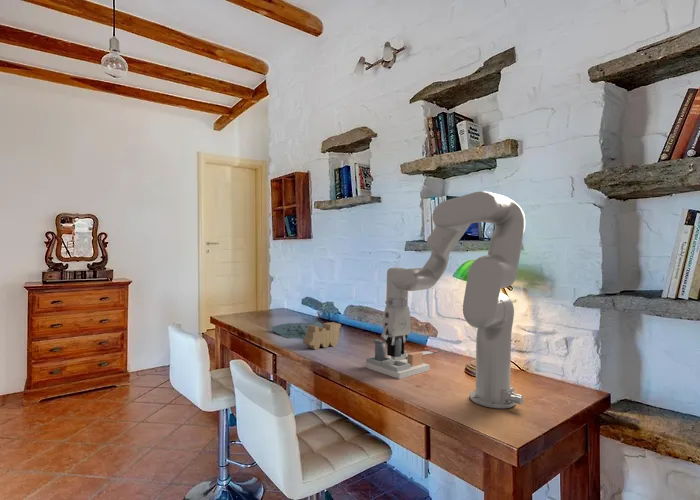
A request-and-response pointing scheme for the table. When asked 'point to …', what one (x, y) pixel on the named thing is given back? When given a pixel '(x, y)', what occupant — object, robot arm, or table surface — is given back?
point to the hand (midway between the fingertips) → (395, 354)
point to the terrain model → (294, 329)
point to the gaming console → (426, 351)
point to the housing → (393, 363)
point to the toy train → (322, 335)
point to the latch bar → (415, 358)
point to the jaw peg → (397, 346)
